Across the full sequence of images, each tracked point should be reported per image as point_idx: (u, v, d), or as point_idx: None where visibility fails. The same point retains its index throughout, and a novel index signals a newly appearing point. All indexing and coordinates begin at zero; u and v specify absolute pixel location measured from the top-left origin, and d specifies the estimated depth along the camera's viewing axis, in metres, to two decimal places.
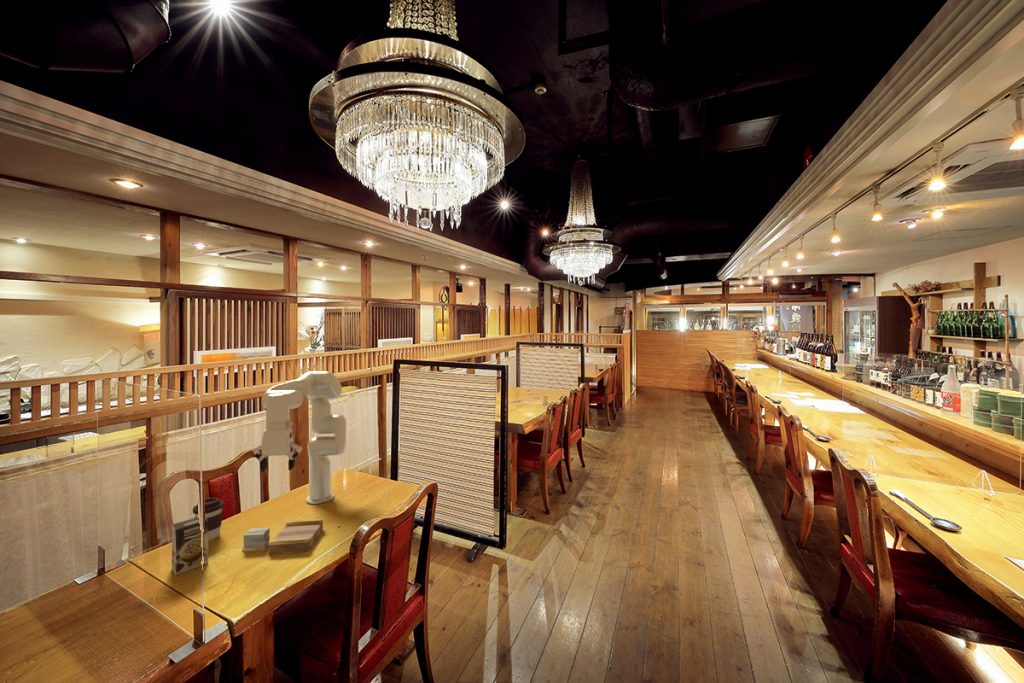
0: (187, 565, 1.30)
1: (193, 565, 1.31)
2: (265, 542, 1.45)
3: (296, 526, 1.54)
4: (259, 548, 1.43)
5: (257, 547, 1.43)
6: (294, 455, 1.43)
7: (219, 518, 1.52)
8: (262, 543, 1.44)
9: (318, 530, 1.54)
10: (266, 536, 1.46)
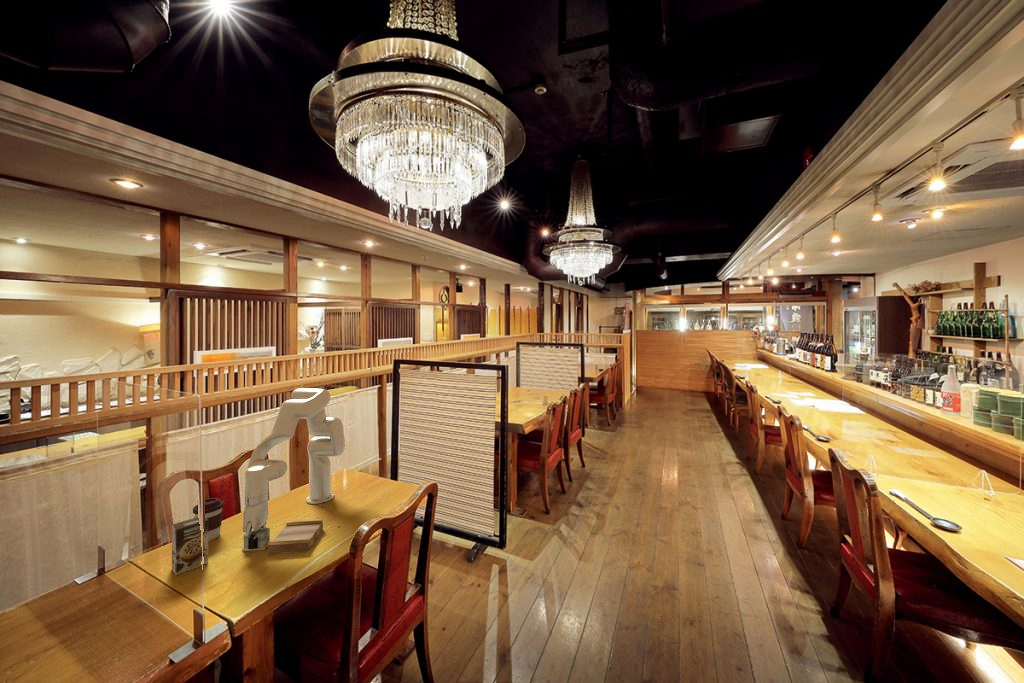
0: (187, 565, 1.30)
1: (193, 565, 1.31)
2: (265, 542, 1.45)
3: (296, 526, 1.54)
4: (259, 548, 1.43)
5: None
6: None
7: (219, 518, 1.52)
8: (262, 543, 1.44)
9: (318, 530, 1.54)
10: (266, 536, 1.46)
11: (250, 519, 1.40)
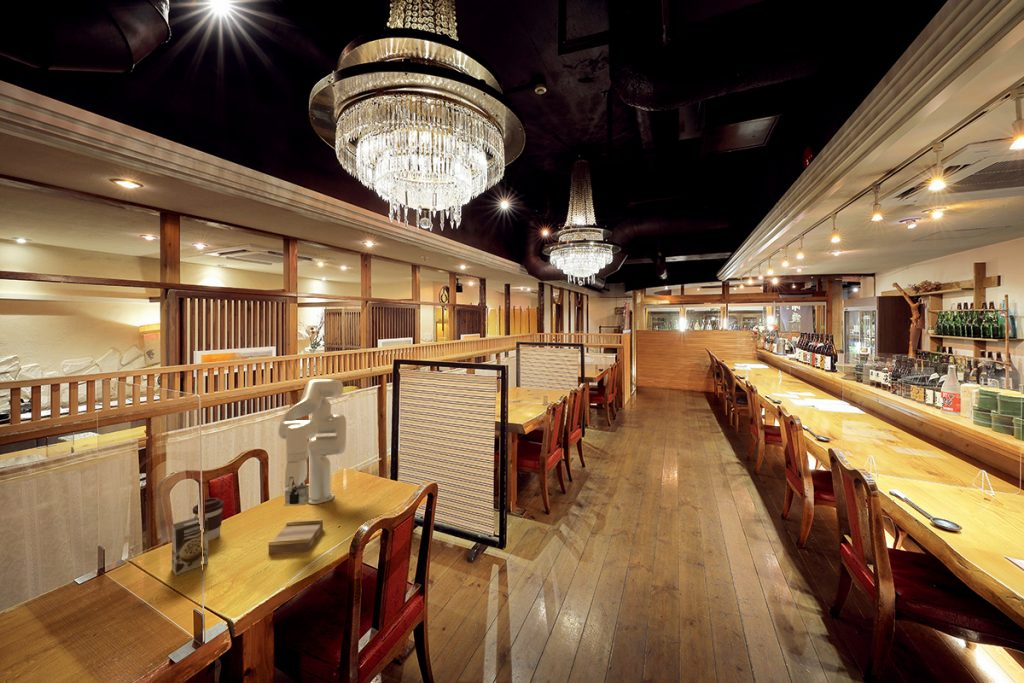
0: (187, 565, 1.30)
1: (193, 565, 1.31)
2: (305, 498, 1.49)
3: (296, 526, 1.54)
4: (300, 503, 1.47)
5: None
6: None
7: (219, 518, 1.52)
8: (303, 498, 1.47)
9: (318, 530, 1.54)
10: (306, 493, 1.49)
11: (292, 474, 1.44)
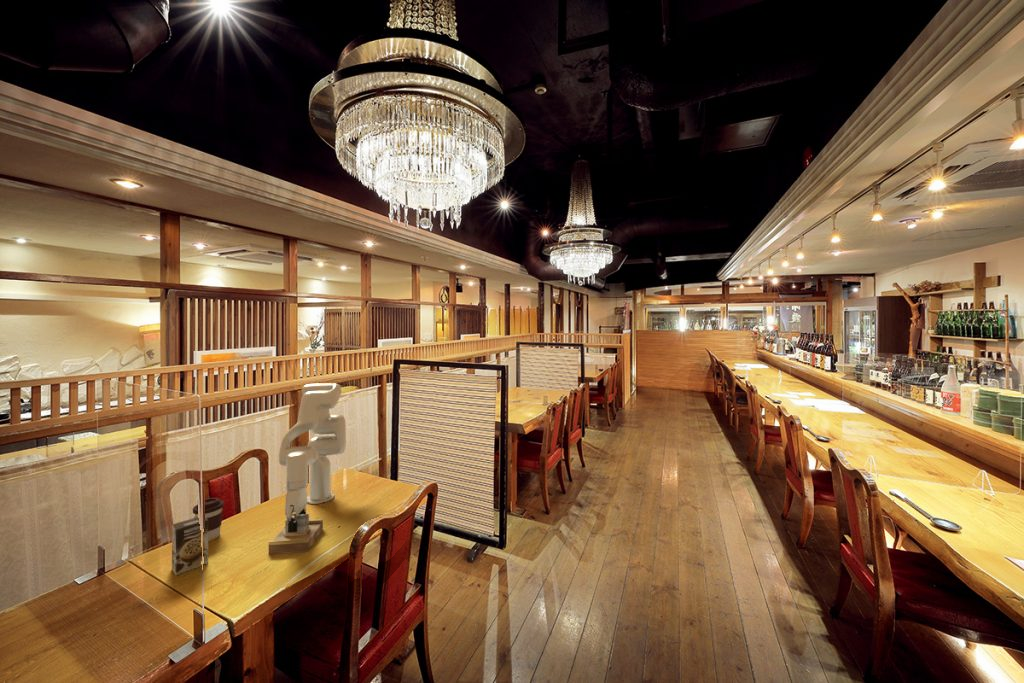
0: (187, 565, 1.30)
1: (193, 565, 1.31)
2: (305, 527, 1.49)
3: None
4: (300, 533, 1.48)
5: (298, 532, 1.47)
6: (305, 506, 1.55)
7: (219, 518, 1.52)
8: (303, 528, 1.48)
9: (318, 530, 1.54)
10: (306, 522, 1.50)
11: (292, 503, 1.44)
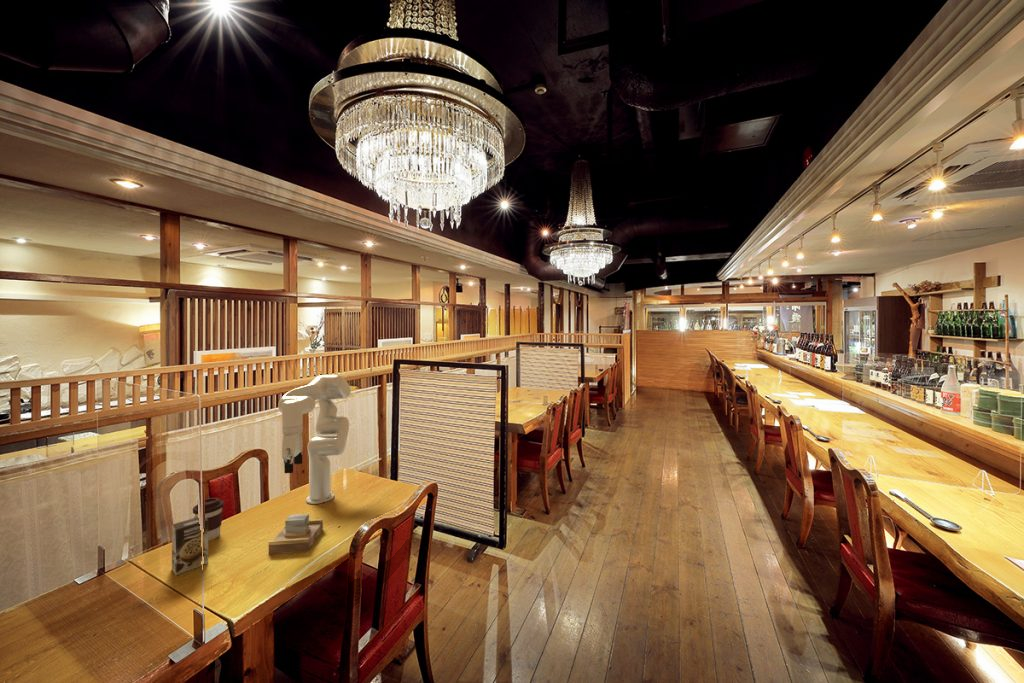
0: (187, 565, 1.30)
1: (193, 565, 1.31)
2: (305, 527, 1.49)
3: None
4: (300, 533, 1.48)
5: (298, 532, 1.47)
6: None
7: (219, 518, 1.52)
8: (303, 528, 1.48)
9: (318, 530, 1.54)
10: (306, 522, 1.50)
11: (288, 446, 1.54)
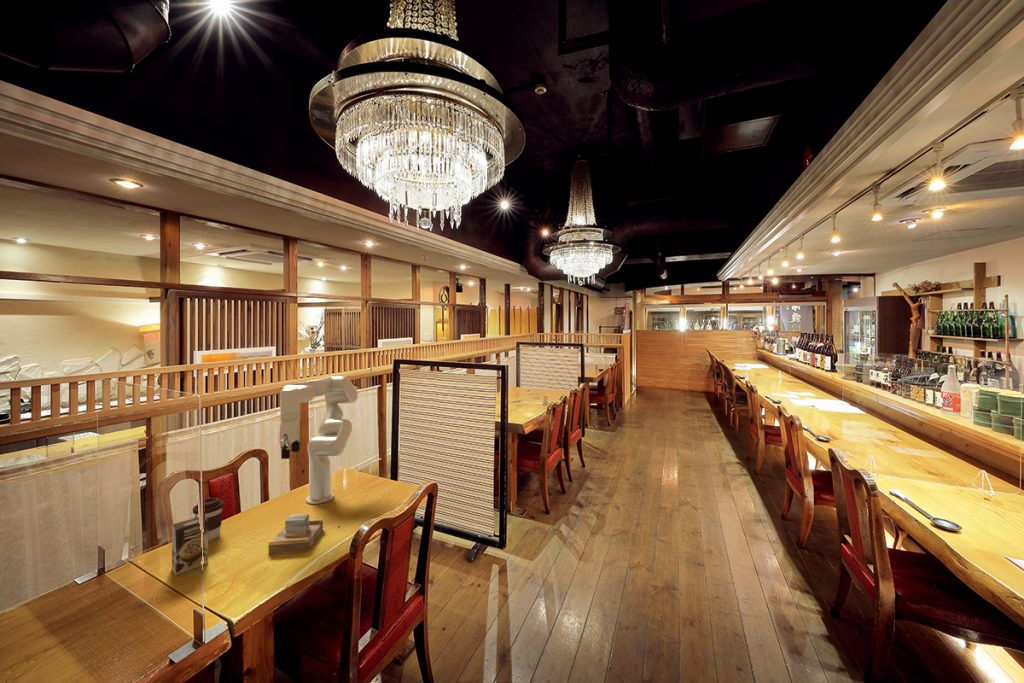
0: (187, 565, 1.30)
1: (193, 565, 1.31)
2: (305, 527, 1.49)
3: None
4: (300, 533, 1.48)
5: (298, 532, 1.47)
6: (298, 438, 1.70)
7: (219, 518, 1.52)
8: (303, 528, 1.48)
9: (318, 530, 1.54)
10: (306, 522, 1.50)
11: (286, 432, 1.58)
